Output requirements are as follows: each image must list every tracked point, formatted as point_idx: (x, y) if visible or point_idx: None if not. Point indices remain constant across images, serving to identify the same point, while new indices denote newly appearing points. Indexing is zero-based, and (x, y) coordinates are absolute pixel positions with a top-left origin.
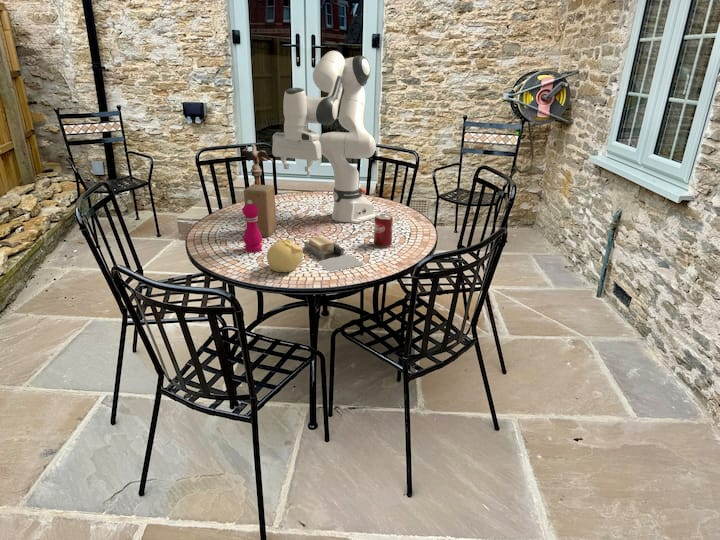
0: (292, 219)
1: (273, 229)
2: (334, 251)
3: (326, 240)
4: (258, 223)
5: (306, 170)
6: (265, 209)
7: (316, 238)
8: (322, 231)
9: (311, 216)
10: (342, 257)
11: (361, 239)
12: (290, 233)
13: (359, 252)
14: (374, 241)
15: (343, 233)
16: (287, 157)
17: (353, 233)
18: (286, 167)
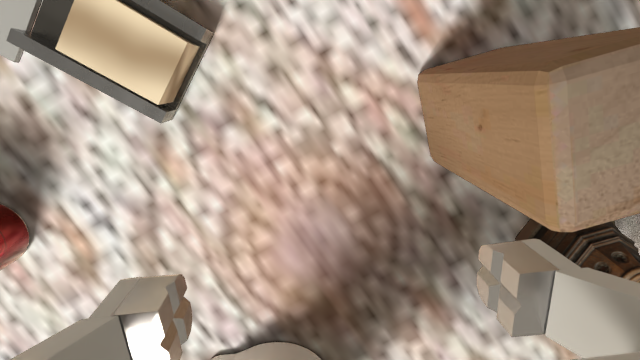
0: (439, 282)
1: (428, 125)
2: None
3: (100, 57)
4: (481, 58)
5: (144, 277)
6: (480, 68)
7: (155, 56)
8: (271, 234)
9: (394, 338)
10: (14, 19)
11: (97, 236)
12: (365, 158)
13: (13, 117)
14: (2, 213)
15: (192, 255)
16: (601, 357)
17: (161, 272)
18: (501, 250)
